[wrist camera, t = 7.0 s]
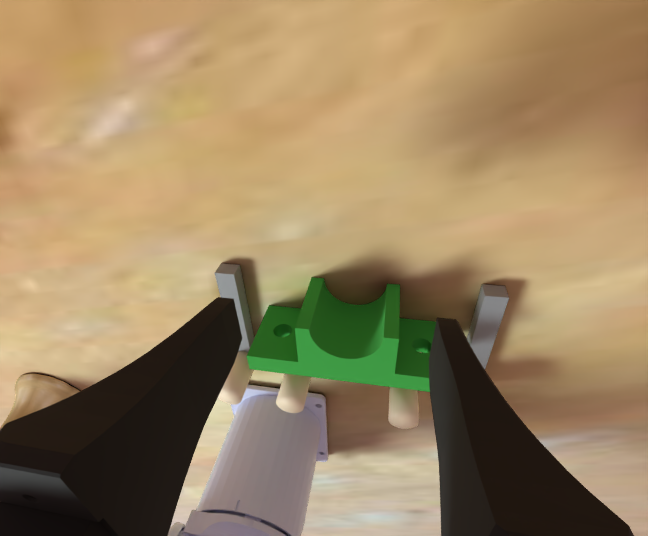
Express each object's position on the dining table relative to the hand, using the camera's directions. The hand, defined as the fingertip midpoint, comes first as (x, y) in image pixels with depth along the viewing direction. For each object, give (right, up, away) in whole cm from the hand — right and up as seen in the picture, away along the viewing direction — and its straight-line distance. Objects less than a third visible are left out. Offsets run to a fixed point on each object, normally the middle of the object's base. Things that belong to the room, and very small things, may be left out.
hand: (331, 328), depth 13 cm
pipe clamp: (+2, 0, +10) cm, 10 cm away
